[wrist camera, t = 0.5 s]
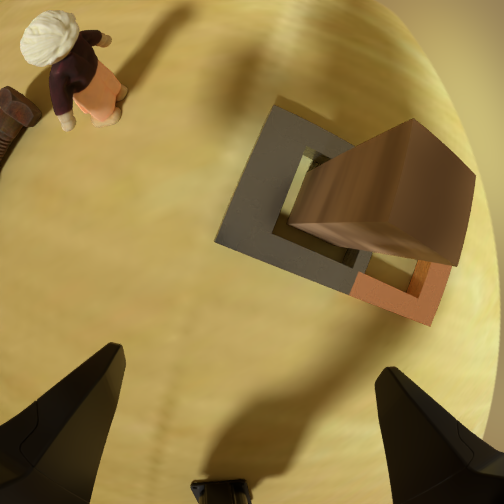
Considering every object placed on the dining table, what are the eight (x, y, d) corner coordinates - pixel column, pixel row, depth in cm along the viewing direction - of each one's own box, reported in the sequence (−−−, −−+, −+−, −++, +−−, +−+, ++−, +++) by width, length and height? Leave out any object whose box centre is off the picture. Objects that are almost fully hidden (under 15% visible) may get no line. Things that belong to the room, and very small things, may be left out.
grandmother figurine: (94, 77, 18) (33, -8, 5) (133, 69, 18) (90, -31, 6) (83, 155, 18) (-15, 99, 6) (124, 148, 19) (43, 72, 6)
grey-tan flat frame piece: (450, 224, 24) (462, 224, 22) (418, 321, 24) (430, 326, 22) (268, 114, 20) (273, 104, 18) (214, 240, 21) (214, 242, 19)
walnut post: (352, 196, 22) (475, 175, 9) (334, 245, 22) (457, 266, 9) (306, 172, 21) (413, 118, 8) (286, 224, 21) (387, 221, 8)
